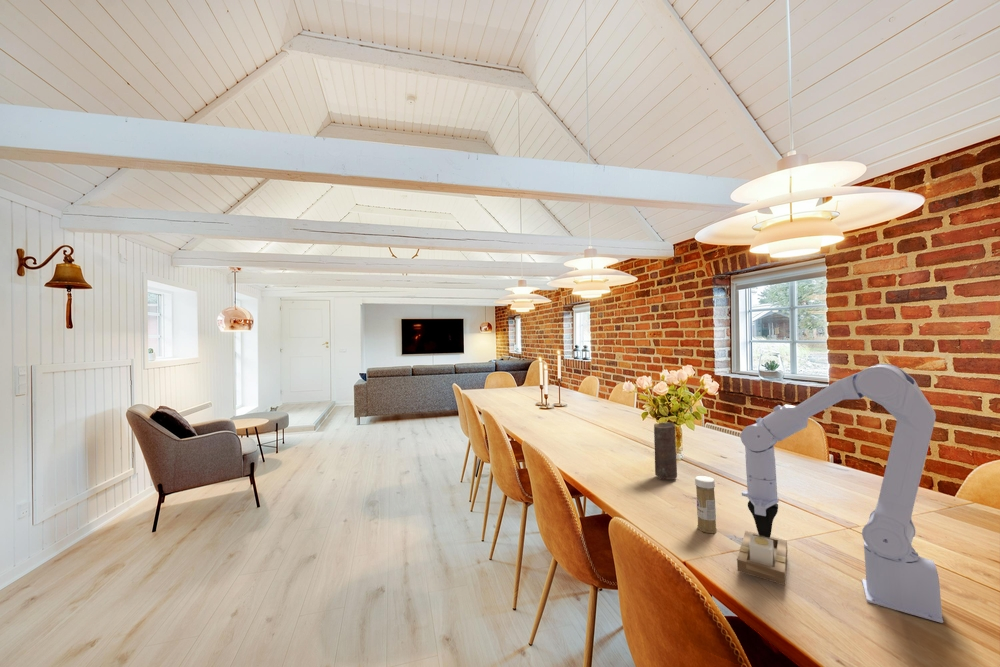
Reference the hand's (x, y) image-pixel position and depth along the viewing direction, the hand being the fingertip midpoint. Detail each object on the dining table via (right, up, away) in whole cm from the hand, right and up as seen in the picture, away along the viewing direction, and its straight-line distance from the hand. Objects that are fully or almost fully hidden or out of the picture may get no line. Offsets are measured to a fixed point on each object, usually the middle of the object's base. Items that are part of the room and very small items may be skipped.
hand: (764, 535), depth 87 cm
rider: (-5, -2, -6) cm, 8 cm away
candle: (-1, -6, +50) cm, 50 cm away
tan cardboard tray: (-3, -4, -4) cm, 7 cm away
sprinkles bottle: (-6, -5, +12) cm, 15 cm away
